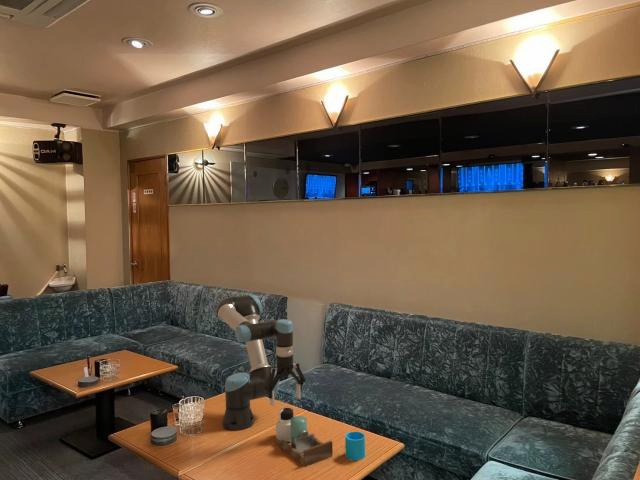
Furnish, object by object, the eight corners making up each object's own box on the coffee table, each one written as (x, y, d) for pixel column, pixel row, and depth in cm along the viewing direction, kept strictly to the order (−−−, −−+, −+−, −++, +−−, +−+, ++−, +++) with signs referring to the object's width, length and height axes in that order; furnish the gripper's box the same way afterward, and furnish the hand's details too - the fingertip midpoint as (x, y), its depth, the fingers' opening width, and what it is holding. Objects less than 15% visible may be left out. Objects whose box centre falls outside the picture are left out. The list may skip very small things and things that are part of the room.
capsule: (288, 446, 198) (287, 418, 198) (301, 441, 202) (301, 414, 202) (296, 452, 192) (295, 424, 192) (310, 447, 196) (309, 419, 196)
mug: (364, 461, 184) (363, 441, 184) (344, 459, 186) (343, 439, 185) (367, 447, 196) (367, 428, 195) (348, 445, 197) (348, 426, 197)
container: (297, 434, 209) (296, 406, 209) (292, 442, 201) (292, 413, 201) (280, 433, 210) (280, 405, 210) (275, 441, 203) (275, 412, 203)
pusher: (294, 453, 192) (294, 434, 191) (313, 446, 197) (312, 428, 196) (296, 454, 191) (295, 435, 190) (314, 447, 196) (314, 429, 196)
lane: (276, 444, 200) (276, 430, 200) (302, 435, 208) (302, 422, 207) (305, 466, 181) (304, 451, 181) (332, 456, 189) (332, 441, 188)
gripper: (263, 362, 195) (264, 411, 196) (312, 351, 209) (313, 397, 210) (255, 357, 201) (256, 405, 202) (303, 348, 215) (304, 392, 216)
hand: (285, 401), depth 206 cm, fingers open, 13 cm apart
